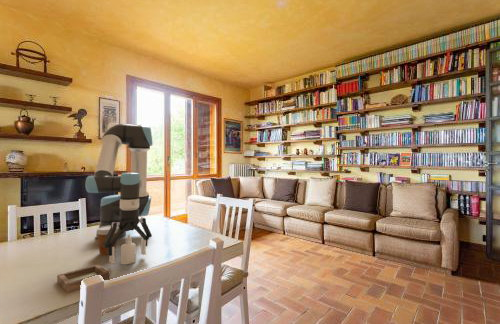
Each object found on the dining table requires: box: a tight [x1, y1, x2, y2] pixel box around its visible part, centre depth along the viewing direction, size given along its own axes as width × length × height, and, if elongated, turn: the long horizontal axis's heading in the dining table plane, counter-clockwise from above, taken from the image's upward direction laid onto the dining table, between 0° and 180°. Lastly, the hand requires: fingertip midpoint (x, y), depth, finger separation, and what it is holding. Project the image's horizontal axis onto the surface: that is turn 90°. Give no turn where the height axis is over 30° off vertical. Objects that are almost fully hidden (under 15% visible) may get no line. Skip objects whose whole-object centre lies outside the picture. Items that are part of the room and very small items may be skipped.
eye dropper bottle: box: [120, 234, 137, 266], centre depth 107 cm, size 4×6×12 cm
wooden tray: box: [56, 263, 111, 293], centre depth 91 cm, size 11×13×2 cm
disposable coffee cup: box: [96, 225, 119, 256], centre depth 118 cm, size 10×10×12 cm
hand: (128, 258), depth 107 cm, fingers open, 13 cm apart
